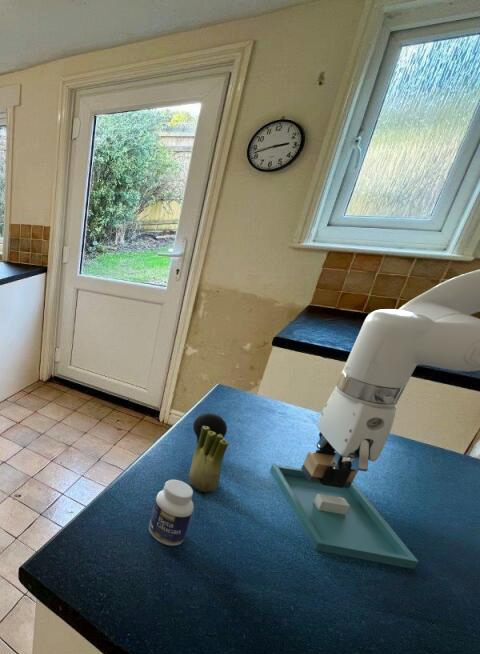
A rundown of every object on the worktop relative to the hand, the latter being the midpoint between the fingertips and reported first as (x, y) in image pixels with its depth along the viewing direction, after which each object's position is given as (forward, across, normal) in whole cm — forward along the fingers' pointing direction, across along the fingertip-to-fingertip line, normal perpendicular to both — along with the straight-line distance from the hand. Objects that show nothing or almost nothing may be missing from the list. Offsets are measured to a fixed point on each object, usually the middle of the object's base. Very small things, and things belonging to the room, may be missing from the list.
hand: (325, 476), depth 74 cm
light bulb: (+5, +7, +18) cm, 20 cm away
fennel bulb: (+5, -3, +20) cm, 21 cm away
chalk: (+4, -4, 0) cm, 6 cm away
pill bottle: (+5, -17, +28) cm, 33 cm away
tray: (+4, -5, 0) cm, 7 cm away
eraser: (0, 0, 0) cm, 0 cm away
